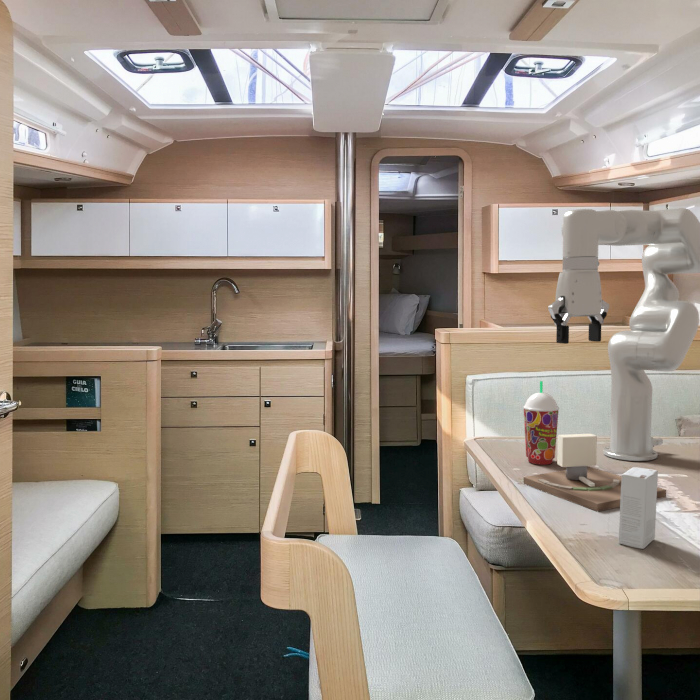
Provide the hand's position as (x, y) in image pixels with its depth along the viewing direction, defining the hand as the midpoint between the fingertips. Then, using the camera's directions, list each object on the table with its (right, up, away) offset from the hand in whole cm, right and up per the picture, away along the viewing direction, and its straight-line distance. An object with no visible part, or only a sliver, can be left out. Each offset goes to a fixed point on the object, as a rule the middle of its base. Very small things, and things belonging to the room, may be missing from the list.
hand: (578, 342), depth 153 cm
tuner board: (-1, -31, -10) cm, 33 cm away
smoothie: (-5, -30, +13) cm, 33 cm away
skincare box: (-3, -34, -39) cm, 52 cm away
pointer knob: (-3, -30, -9) cm, 31 cm away
